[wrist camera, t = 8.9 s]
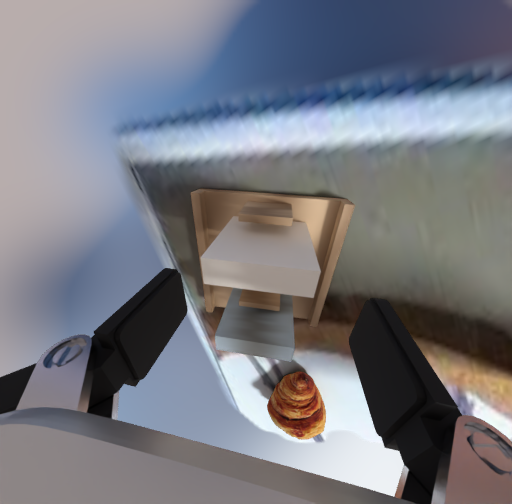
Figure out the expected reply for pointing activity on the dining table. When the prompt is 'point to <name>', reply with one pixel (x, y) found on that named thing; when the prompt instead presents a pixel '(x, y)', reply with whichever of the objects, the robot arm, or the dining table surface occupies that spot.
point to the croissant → (297, 406)
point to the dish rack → (258, 302)
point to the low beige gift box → (263, 258)
